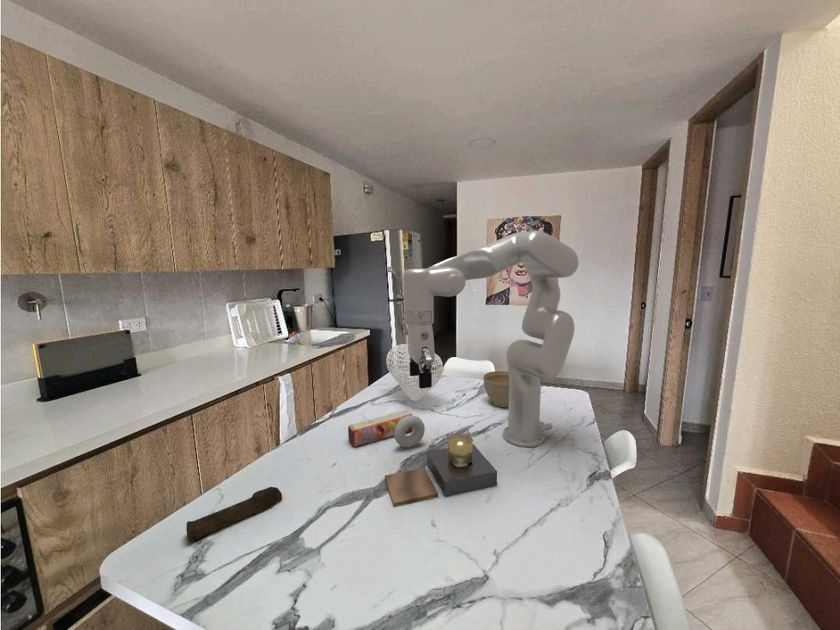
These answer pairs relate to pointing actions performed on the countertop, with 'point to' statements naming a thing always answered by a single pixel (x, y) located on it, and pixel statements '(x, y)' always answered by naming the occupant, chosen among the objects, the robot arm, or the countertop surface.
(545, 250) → the robot arm
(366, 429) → the snack package
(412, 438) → the donut
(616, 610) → the countertop surface
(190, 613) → the countertop surface
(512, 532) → the countertop surface
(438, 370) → the heart
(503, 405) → the planter bowl
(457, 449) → the end cover
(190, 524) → the hand tool
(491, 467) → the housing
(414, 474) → the board
